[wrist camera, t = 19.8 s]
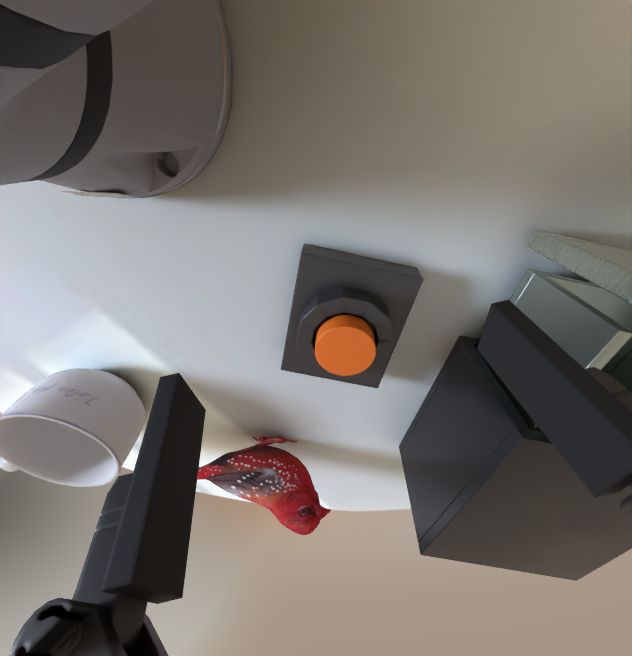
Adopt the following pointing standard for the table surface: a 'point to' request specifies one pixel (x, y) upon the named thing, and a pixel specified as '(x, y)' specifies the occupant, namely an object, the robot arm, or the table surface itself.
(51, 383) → the teacup
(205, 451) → the table surface
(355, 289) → the block
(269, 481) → the decorative bird figurine
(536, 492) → the cabinet
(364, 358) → the button
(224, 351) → the table surface
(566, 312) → the drawer
